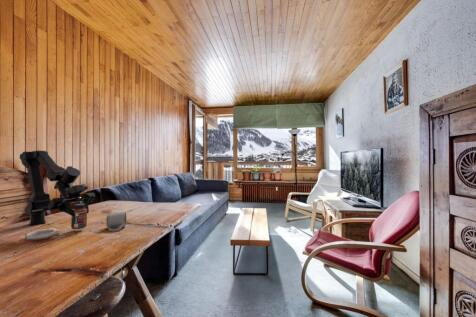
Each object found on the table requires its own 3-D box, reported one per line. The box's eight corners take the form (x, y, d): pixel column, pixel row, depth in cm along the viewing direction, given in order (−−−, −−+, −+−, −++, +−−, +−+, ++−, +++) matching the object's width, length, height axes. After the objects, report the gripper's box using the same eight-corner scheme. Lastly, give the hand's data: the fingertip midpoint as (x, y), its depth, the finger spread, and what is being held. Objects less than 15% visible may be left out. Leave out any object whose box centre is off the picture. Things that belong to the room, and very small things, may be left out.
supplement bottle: (78, 230, 98) (78, 205, 98) (67, 229, 99) (68, 205, 99) (89, 226, 104) (90, 203, 104) (79, 225, 105) (80, 202, 105)
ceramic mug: (108, 226, 109) (108, 211, 109) (126, 224, 112) (126, 209, 112) (104, 233, 99) (104, 216, 99) (124, 231, 102) (124, 215, 102)
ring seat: (25, 235, 95) (25, 231, 95) (57, 230, 103) (57, 226, 103) (24, 242, 87) (24, 238, 87) (59, 236, 94) (59, 232, 94)
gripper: (52, 180, 94) (67, 207, 90) (93, 177, 112) (108, 199, 108) (40, 196, 97) (55, 223, 93) (83, 191, 114) (97, 213, 111)
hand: (81, 214), depth 101 cm, fingers closed on supplement bottle, 6 cm apart
